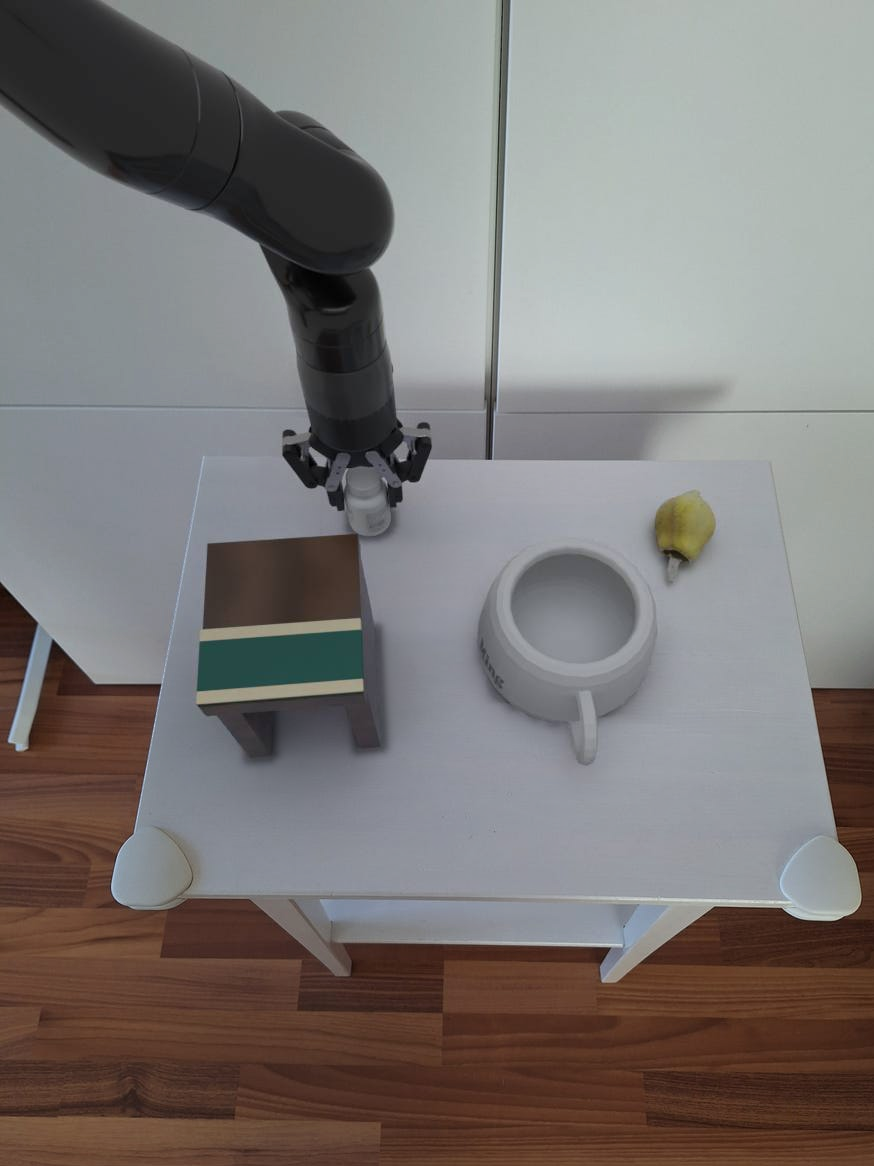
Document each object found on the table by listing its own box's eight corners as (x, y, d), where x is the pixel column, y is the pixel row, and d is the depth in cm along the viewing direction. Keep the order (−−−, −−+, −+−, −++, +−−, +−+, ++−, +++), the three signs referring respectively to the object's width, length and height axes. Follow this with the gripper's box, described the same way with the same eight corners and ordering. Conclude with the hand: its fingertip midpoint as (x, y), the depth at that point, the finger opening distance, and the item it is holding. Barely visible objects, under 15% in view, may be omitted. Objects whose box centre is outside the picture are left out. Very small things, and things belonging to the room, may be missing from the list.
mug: (469, 581, 81) (471, 527, 72) (629, 571, 82) (652, 516, 73) (489, 786, 72) (494, 754, 63) (669, 772, 73) (700, 738, 64)
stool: (249, 768, 72) (198, 707, 57) (252, 630, 78) (207, 543, 63) (381, 757, 73) (364, 694, 58) (375, 621, 79) (357, 533, 64)
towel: (198, 707, 57) (195, 704, 57) (202, 633, 60) (199, 629, 59) (364, 694, 58) (363, 690, 58) (361, 621, 61) (360, 617, 60)
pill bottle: (397, 509, 84) (392, 464, 77) (381, 542, 83) (375, 499, 76) (359, 497, 85) (350, 451, 78) (342, 530, 83) (332, 486, 76)
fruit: (638, 581, 82) (649, 495, 85) (689, 596, 83) (698, 511, 86) (667, 563, 76) (678, 471, 79) (721, 579, 78) (730, 489, 81)
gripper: (258, 422, 63) (296, 538, 79) (437, 412, 64) (440, 528, 80) (260, 352, 66) (296, 476, 82) (430, 343, 67) (434, 468, 83)
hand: (367, 501), depth 81 cm, fingers open, 4 cm apart
